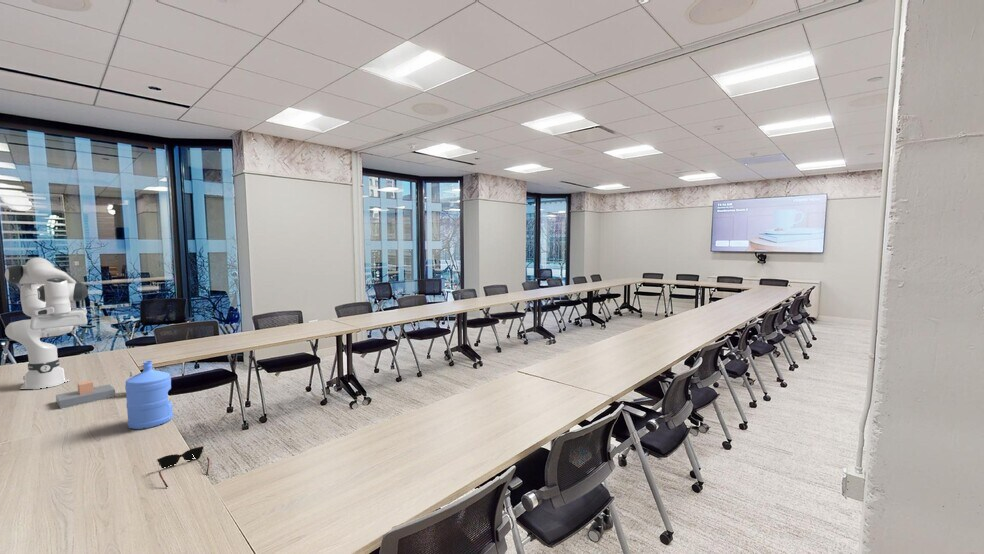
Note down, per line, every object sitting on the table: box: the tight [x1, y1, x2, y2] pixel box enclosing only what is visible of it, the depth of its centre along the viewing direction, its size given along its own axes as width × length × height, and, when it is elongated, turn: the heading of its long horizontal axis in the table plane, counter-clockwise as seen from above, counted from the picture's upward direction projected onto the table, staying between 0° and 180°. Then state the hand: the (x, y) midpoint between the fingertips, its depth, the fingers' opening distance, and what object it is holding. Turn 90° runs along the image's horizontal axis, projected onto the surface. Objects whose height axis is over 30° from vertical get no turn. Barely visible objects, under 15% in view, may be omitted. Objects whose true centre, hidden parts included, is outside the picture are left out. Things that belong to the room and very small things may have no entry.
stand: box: [55, 384, 116, 410], centre depth 207 cm, size 13×20×4 cm, turn 143°
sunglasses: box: [156, 446, 210, 488], centre depth 140 cm, size 14×16×5 cm
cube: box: [77, 380, 94, 394], centre depth 206 cm, size 5×5×5 cm
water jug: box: [124, 360, 174, 430], centre depth 179 cm, size 16×16×28 cm
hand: (60, 335), depth 208 cm, fingers open, 8 cm apart
